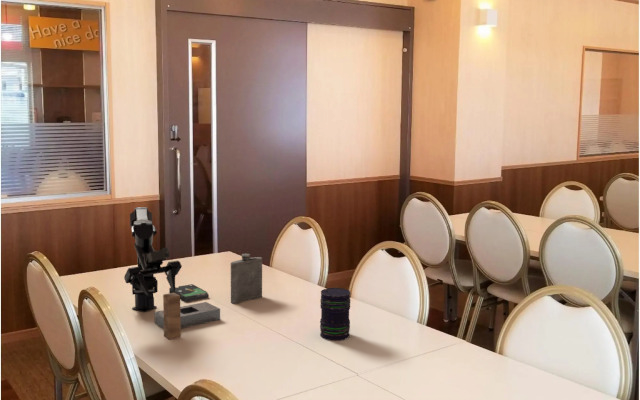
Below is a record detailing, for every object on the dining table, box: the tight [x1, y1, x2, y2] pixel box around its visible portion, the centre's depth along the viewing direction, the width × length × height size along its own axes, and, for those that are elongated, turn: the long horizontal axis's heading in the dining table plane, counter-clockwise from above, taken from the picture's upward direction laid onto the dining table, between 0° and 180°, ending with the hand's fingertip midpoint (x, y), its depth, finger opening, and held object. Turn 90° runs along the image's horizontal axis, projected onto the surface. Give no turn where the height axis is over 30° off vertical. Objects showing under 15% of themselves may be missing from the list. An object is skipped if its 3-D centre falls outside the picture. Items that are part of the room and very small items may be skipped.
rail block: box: [154, 301, 221, 329], centre depth 235 cm, size 10×20×4 cm, turn 129°
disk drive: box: [168, 283, 210, 303], centre depth 266 cm, size 10×3×15 cm
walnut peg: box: [162, 293, 182, 340], centre depth 219 cm, size 4×4×14 cm
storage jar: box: [319, 287, 351, 342], centre depth 222 cm, size 10×10×15 cm
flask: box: [230, 253, 263, 305], centre depth 261 cm, size 4×14×18 cm, turn 133°
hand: (161, 292), depth 224 cm, fingers open, 9 cm apart
